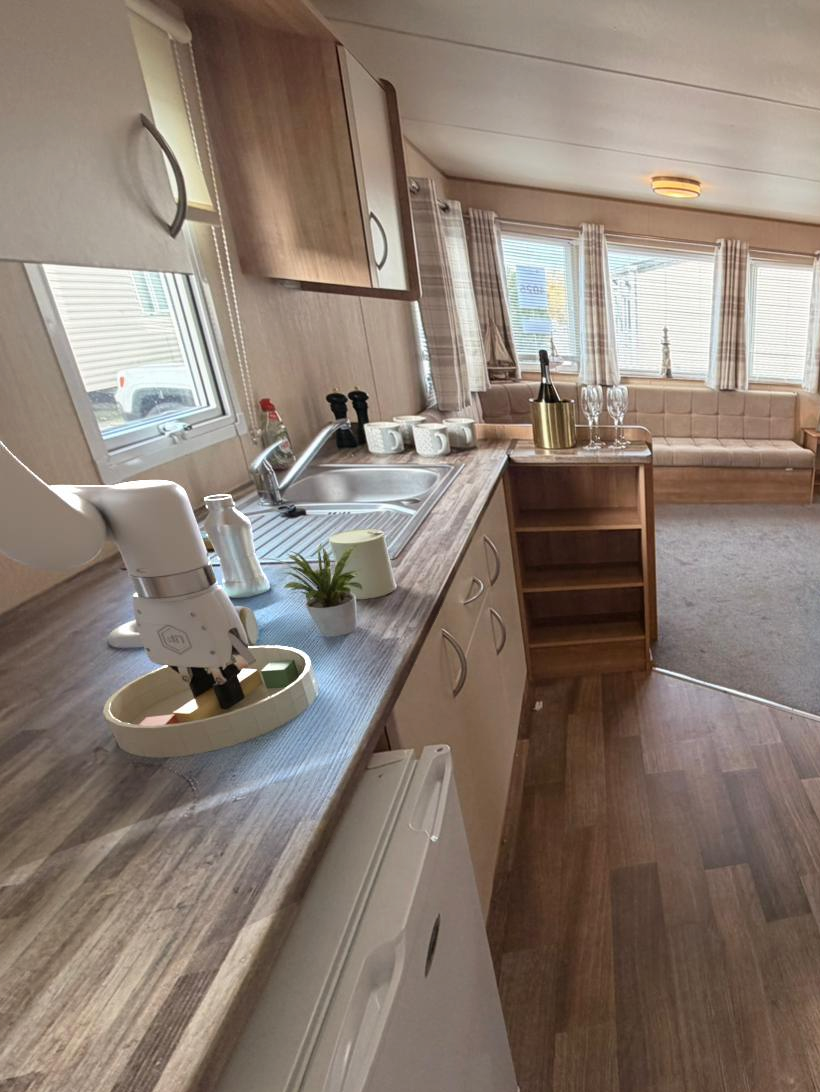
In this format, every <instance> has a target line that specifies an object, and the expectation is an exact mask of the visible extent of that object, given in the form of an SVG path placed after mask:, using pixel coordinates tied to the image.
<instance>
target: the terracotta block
mask: <svg viewBox="0 0 820 1092" xmlns="http://www.w3.org/2000/svg"><path fill="white" fill-rule="evenodd" d="M178 723H179V722H178V720H177V717H176V715H175V714H172V715H163V716H154V717H146V718H145V719H144V720H143V721H142V722H141V723H140V724H139V725H166V724H178Z"/></svg>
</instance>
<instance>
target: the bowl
mask: <svg viewBox="0 0 820 1092" xmlns="http://www.w3.org/2000/svg"><path fill="white" fill-rule="evenodd" d="M249 652H250V653H251V654H252V655H253V656H254V657H255V659H256V662H255V663H253V664H252V665H250V666H249V667H247V668H244V669H254V670H258V671H259V674H260V677H261V679H262V682H263V684H262V685H260V686H259V687H257V688H256V689H254V690H253V691H251V692H250V693H248V694H247V695H245V696H244V699H243V700H241V701H240V702H238V703H237V704H235V705H234V706H232V707H231V708H229V709H225V710H223V711H222V712H220V713H219V714H218V715H216V716H214V717H210V718H206V719H201V720H196V721H190V722H184V723H178V724H166V725H139V724H140V723H141V722H142V721H143V720H144V719H145V718H146V717H154V716H163V715H172V712H174V711H176V710H177V709H179V708H180V707H182V706H183V705H185V704H187V703H188V702H190V701H191V700H193V699H195V698H194V696H193V693H192V691H191V688H190V686H189V684H190V682H189V683H186V682H184V681H183V680H182V679H181V676H180V674H179V673H178V672H176V671H175V670H173V669H172V668H171V667H169V666H166V665H162V666H160V667H158V668H156V669H154V670H152V671H149V672H147V673H145V674H142V675H140V676H139V677H137V678H135V679H133V680H131V681H130V682H128V683H126V684H124V685H123V686H122V687H120V688H119V689H117V690H116V691H115V692H114V693H113V694H111V696H110V697H109V698H108V699H107V700H106V702H104V705H103V710H102V715H103V716H104V717H105V721H106V722H107V724H108V727H109V729H110V731H111V734H112V735H113V737H114V739H115V741H116V743H117V745H118V747H119V749H121V750H122V751H124V752H126V753H127V754H130V755H134V756H137V757H143V758H153V759H154V758H157V759H158V758H159V759H162V758H178V757H187V756H194V755H199V754H205V753H209V752H214V751H218V750H222V749H225V748H229V747H233V746H235V745H238V744H242V743H245V742H249V741H250V740H253V739H256V738H258V737H260V736H264V735H265V734H268V733H270V732H272V731H274V730H276V729H278V728H280V727H282V726H284V725H286V724H288V723H289V722H291V721H292V720H294V719H295V718H297V717H298V716H300V715H301V714H302V713H304V712H305V711H306V710H307V709H308V708H309V707H310V706H311V705H312V704H313V703H314V701H316V698H317V697H318V695H319V690H320V687H319V684H318V681H317V677H316V674H315V669H314V668H313V664H312V661H311V657H310V655H308V654H306V652H304V651H302V650H300V649H297V648H295V647H289V646H284V645H254V646H249ZM282 660H294V662H295V665H296V668H297V671H298V674H299V677H298V678H297V680H295V681H294V682H293V683H291V684H290V685H289V686H287V687H282V688H269V689H267V688H266V685H265V682H264V679H263V676H262V673H261V670H262V669H263V668H264V667H266V666H267V665H268V664H269V663H270V662H271V661H282ZM222 668H223V670H224V669H225V668H226V664H225V665H223V666H222ZM209 672H211V670H210V668H208V672H207V673H209Z"/></svg>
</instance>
